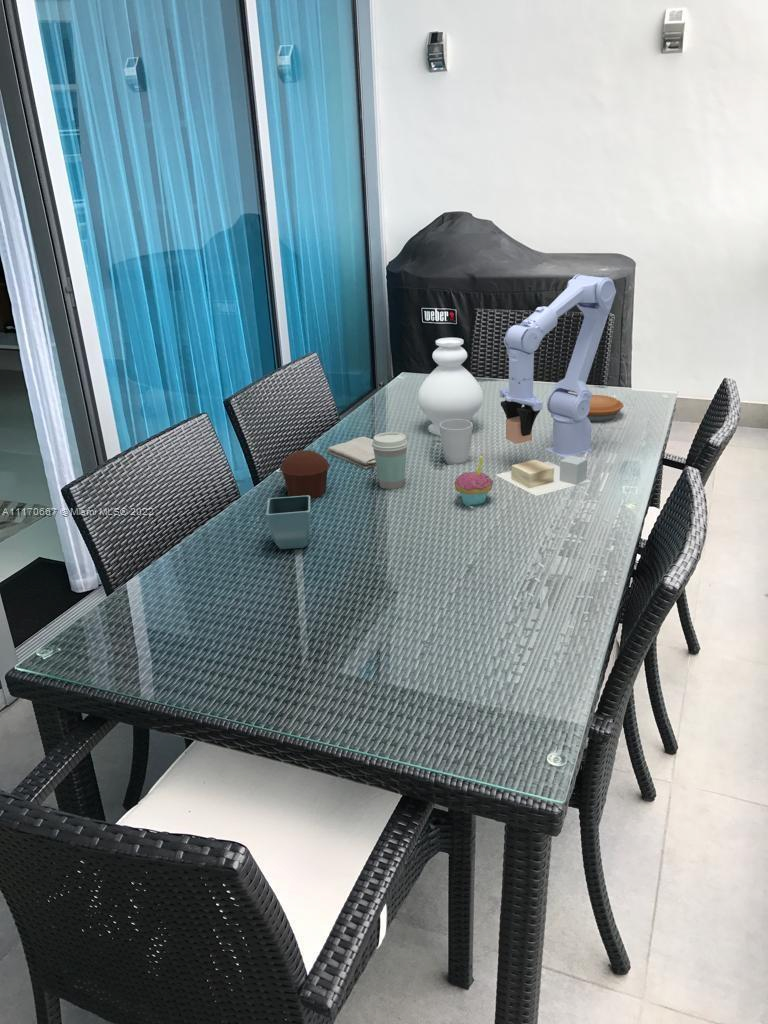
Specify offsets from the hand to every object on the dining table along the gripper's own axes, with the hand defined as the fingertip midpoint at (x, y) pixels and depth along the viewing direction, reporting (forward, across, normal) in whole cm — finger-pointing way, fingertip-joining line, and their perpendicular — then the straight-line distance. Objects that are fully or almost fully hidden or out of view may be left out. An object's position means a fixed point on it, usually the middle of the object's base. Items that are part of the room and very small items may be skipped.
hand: (519, 432), depth 211 cm
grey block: (+9, +14, +5) cm, 17 cm away
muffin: (+10, -15, -50) cm, 53 cm away
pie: (+10, -22, +43) cm, 49 cm away
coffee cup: (+10, -8, -31) cm, 34 cm away
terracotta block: (+2, 0, 0) cm, 2 cm away
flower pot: (+10, +9, -64) cm, 65 cm away
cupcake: (+10, +12, -21) cm, 26 cm away
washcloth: (+10, -30, -28) cm, 42 cm away
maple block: (+9, +9, -3) cm, 13 cm away
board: (+10, +9, 0) cm, 13 cm away
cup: (+10, -13, -10) cm, 19 cm away
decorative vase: (+10, -36, +3) cm, 37 cm away
